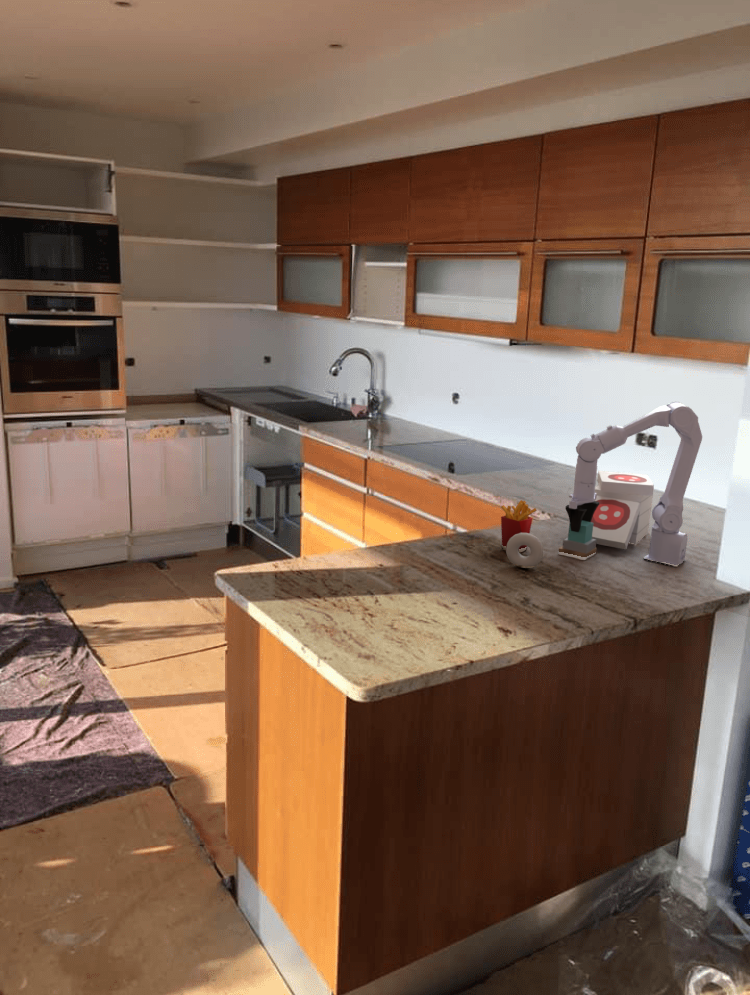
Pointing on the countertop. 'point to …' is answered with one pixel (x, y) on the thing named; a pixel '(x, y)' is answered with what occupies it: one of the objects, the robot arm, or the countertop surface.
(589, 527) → the teal cube
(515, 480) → the countertop surface
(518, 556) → the donut
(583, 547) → the tower top
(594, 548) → the block
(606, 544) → the stacked pizza boxes
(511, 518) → the french fries
